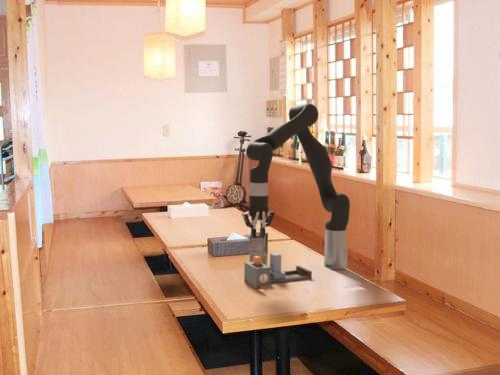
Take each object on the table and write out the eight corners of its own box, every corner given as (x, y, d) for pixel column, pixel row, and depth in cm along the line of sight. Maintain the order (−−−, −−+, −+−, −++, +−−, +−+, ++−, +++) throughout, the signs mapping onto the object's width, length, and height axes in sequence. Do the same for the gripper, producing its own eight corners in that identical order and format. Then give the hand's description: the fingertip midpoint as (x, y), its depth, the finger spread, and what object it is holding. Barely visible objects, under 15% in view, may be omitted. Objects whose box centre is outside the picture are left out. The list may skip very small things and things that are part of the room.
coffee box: (253, 268, 282) (253, 231, 280) (267, 268, 281) (268, 232, 279) (249, 273, 273) (249, 235, 271) (263, 274, 272) (264, 236, 270)
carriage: (276, 275, 264) (276, 251, 263) (285, 280, 257) (286, 255, 255) (265, 276, 262) (265, 252, 260) (274, 281, 254) (274, 256, 253)
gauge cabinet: (257, 276, 262) (258, 261, 261) (270, 284, 252) (271, 267, 251) (244, 278, 259) (244, 262, 259) (256, 285, 249) (257, 269, 248)
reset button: (259, 263, 257) (259, 255, 257) (262, 264, 254) (263, 257, 254) (252, 263, 256) (252, 256, 255) (255, 265, 253) (255, 258, 252)
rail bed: (298, 275, 270) (298, 265, 270) (312, 282, 260) (312, 271, 260) (244, 282, 260) (244, 271, 259) (256, 289, 250) (256, 277, 249)
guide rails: (295, 272, 269) (295, 270, 269) (308, 279, 260) (308, 276, 260) (258, 277, 262) (258, 274, 262) (270, 283, 252) (270, 280, 252)
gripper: (270, 191, 258) (269, 234, 260) (238, 193, 252) (237, 237, 254) (279, 194, 251) (278, 238, 253) (246, 195, 245) (245, 240, 247)
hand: (257, 237), depth 254 cm, fingers open, 3 cm apart
